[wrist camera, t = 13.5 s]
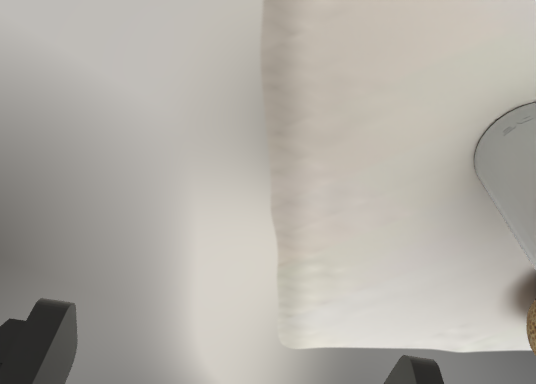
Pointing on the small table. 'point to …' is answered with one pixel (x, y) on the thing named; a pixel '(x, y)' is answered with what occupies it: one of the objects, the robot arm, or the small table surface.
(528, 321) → the natural sponge
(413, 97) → the small table surface
